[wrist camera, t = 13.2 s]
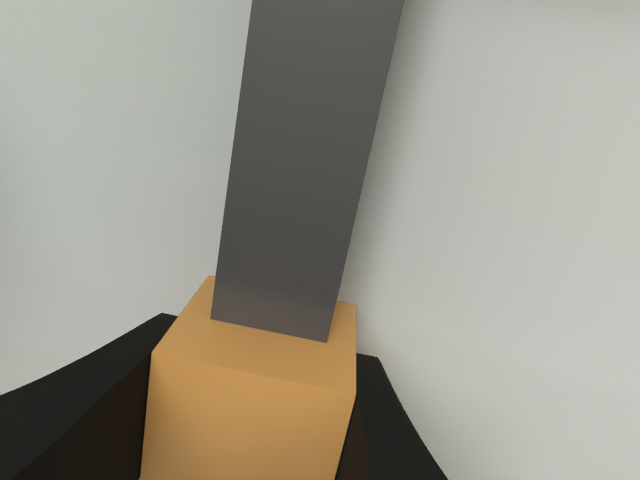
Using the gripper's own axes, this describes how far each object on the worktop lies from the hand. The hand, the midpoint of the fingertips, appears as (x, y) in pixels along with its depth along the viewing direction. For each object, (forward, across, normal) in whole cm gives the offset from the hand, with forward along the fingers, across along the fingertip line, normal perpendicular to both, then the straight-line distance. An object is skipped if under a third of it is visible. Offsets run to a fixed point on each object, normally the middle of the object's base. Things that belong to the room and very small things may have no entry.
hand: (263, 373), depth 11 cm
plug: (+2, 0, -4) cm, 5 cm away
